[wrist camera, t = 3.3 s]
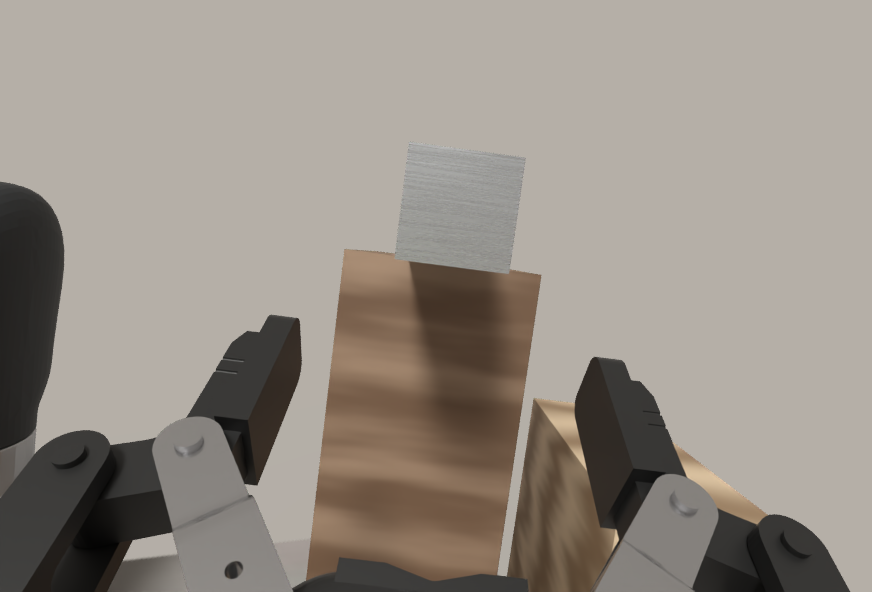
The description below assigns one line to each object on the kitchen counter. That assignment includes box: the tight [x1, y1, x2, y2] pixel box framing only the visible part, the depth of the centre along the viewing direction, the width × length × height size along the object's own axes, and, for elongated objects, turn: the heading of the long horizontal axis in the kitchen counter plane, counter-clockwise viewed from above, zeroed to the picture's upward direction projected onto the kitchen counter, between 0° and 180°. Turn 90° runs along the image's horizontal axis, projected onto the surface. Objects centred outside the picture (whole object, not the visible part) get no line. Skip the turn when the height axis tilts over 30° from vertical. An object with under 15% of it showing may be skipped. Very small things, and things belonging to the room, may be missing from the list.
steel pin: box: [395, 142, 525, 274], centre depth 28 cm, size 26×6×6 cm, turn 1°
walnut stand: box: [306, 249, 541, 581], centre depth 34 cm, size 16×10×32 cm, turn 1°
